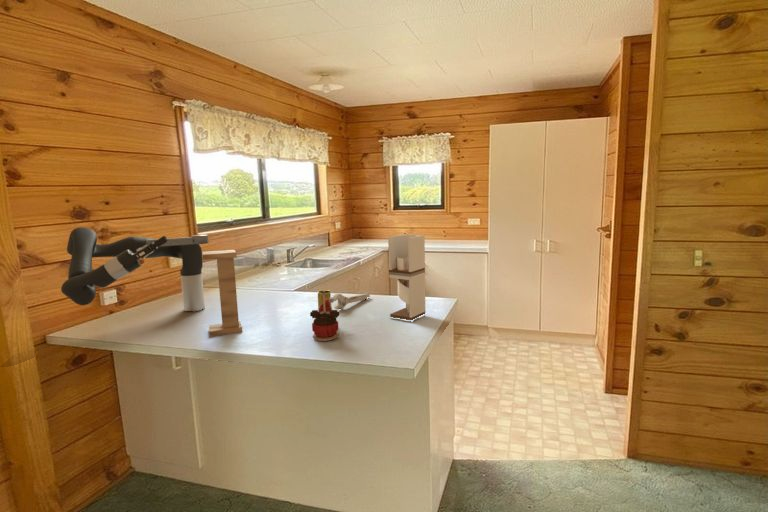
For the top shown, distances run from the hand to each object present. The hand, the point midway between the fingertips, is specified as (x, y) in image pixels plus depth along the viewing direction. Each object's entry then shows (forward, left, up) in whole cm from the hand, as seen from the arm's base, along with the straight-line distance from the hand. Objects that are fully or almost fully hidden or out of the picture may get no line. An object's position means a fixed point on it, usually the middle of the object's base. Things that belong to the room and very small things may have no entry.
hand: (165, 238), depth 161 cm
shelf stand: (0, +18, -39) cm, 43 cm away
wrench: (-14, +76, -39) cm, 87 cm away
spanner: (0, +4, -3) cm, 4 cm away
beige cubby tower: (+17, +91, -39) cm, 100 cm away
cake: (+27, +52, -39) cm, 70 cm away
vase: (+12, +56, -39) cm, 69 cm away
